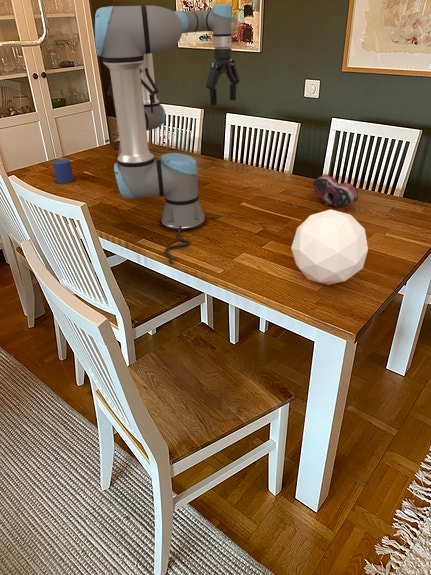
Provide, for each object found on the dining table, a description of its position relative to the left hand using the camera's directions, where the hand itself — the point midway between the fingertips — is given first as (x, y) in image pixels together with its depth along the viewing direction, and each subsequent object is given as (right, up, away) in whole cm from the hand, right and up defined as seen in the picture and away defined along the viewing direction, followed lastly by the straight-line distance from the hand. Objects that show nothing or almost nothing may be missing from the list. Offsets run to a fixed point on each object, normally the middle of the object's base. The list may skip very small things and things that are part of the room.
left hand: (223, 102), depth 195 cm
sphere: (+27, -79, -73) cm, 111 cm away
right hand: (-36, -10, -14) cm, 40 cm away
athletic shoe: (+40, -49, -27) cm, 69 cm away
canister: (-71, -34, +3) cm, 78 cm away
